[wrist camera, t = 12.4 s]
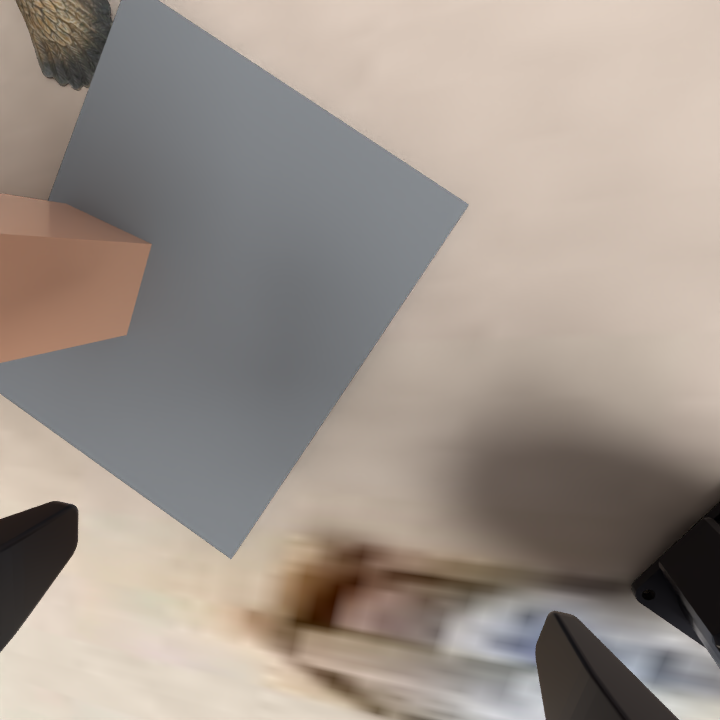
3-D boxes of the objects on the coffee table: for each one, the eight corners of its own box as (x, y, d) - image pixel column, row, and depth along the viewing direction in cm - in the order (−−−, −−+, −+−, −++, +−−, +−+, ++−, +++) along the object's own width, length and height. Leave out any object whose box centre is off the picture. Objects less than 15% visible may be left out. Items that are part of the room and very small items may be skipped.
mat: (468, 205, 17) (468, 204, 16) (234, 554, 23) (231, 559, 22) (135, -14, 18) (128, -20, 17) (-11, 378, 23) (-19, 380, 23)
